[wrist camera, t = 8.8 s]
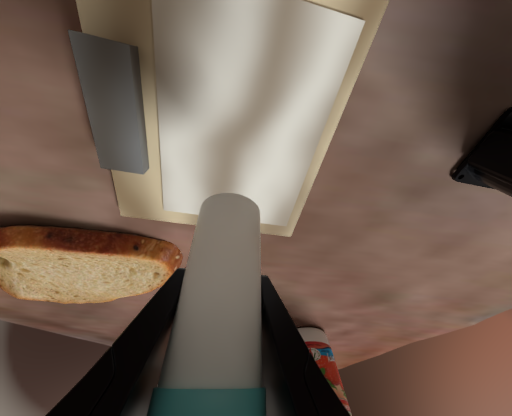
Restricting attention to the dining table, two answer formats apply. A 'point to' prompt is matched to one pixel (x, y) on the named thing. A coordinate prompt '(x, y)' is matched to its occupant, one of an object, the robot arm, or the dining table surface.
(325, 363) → the fruit juice
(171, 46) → the clipboard
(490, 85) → the dining table surface
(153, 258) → the bread slice
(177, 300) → the robot arm
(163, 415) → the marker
